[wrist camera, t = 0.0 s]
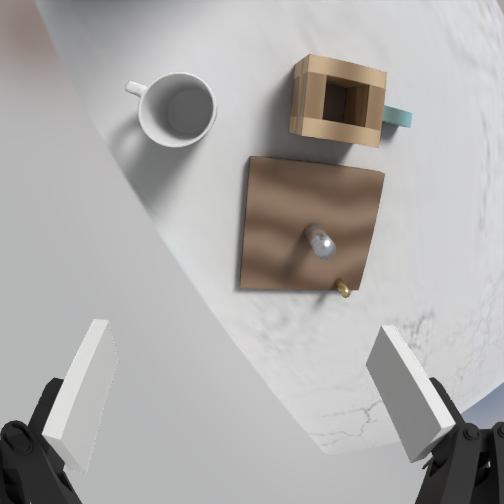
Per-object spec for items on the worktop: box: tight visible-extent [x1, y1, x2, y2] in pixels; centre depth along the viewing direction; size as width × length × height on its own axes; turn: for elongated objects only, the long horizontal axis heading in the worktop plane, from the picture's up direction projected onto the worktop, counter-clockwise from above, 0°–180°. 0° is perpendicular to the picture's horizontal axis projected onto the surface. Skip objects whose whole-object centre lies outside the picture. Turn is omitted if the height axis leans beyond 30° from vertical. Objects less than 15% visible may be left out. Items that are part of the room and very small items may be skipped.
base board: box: [240, 156, 385, 290], centre depth 41 cm, size 18×18×2 cm
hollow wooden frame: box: [289, 54, 412, 148], centre depth 32 cm, size 16×9×7 cm, turn 85°
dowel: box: [335, 278, 350, 298], centre depth 43 cm, size 1×1×4 cm
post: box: [304, 223, 336, 260], centre depth 38 cm, size 2×2×6 cm
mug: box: [125, 72, 217, 148], centre depth 28 cm, size 10×7×12 cm, turn 59°
